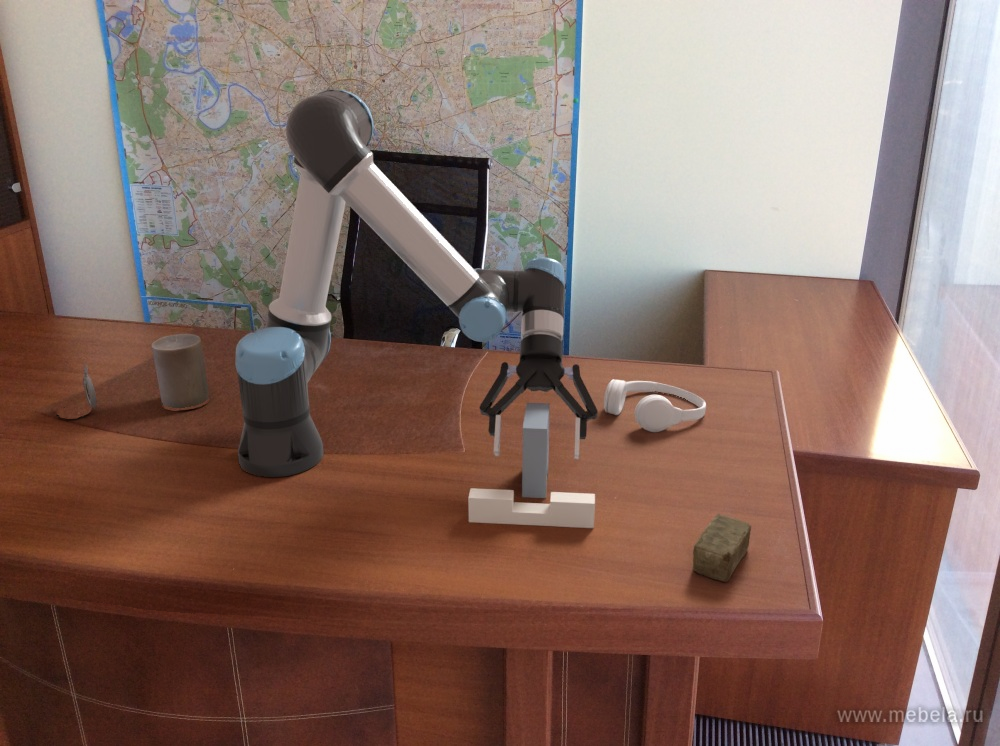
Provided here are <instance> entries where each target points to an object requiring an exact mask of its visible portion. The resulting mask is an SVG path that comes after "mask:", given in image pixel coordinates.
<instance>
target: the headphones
mask: <svg viewBox="0 0 1000 746" xmlns="http://www.w3.org/2000/svg"><path fill="white" fill-rule="evenodd" d="M652 391H653V392H652ZM654 391H658V392H666V393H670V394H674V395H677V396H679V397H678V398H680V397H682V398H681V399H683V398H685V399H686V400H685V399H684V400H685V401H687V400H688V402H690V403H692V404H693V405H695V406H697V407H698V408H693V409H681V408H679V407H676V406H674V405H673V404H672V402H671V401H670V400H669V399H667V398H666V397H665V396H663V395H660V394H650V395H649V394H648V395H646V396H644V397H643V398H641V399H640V400H639V402H637V404H636V406H635V408H634V419H635V421H636V423H637V424H638V425H639V426H640V427H642V428H643V429H644V430H646V431H647V432H651V433H659V432H663V431H665V430H667V429H668V428H670V427H673V426H675V425H678V424H679V423H680V422H688V421H689V422H690V421H697V420H700V419H702V418H703V417H704V416H705V414H706V409H707V403H706V401H705V399H703V398H702V397H700V396H698V395H697V394H695V393H693V392H690V391H688V390H686V389H682V388H679V387H677V386H673V385H670V384H665V383H661V382H656V381H650V380H645V381H644V380H630V381H626V380H623V379H622V380H621V379H614V378H613V379H611V380H610V382H608V384H607V386H606V390H605V391H604V397H603V408H604V412H605V413H608V414H611V415H614V416H619V415H620V413H621V412H622V411H623V408H624V404H625V400H626V397H627V393H631V392H632V393H633V392H646V393H655V392H654ZM658 392H657V393H658ZM677 396H676V397H677Z"/></svg>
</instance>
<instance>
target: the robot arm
mask: <svg viewBox="0 0 1000 746" xmlns="http://www.w3.org/2000/svg"><path fill="white" fill-rule="evenodd" d="M285 125H286V126H285V135H286V141H287V144H288V147H289V149H290V151H291V153H292V155H293V156H294V158H293V165H294V166H295V168H296V170H297V171H298V172H299V173H300V174H299V175H300V176H299V182H298V186H297V192H296V199H295V204H294V210H293V217H292V221H291V222H292V223H291V228H290V234H289V239H288V244H287V251H286V257H285V262H284V267H283V273H282V280H281V285H280V286H281V287H280V291H279V296H278V298H276V299H274V300H273V301H271V302H269V306H268V310H267V311H268V312H267V316H266V323H265V327H264V328H259V329H256V330H255V332H252V331H251V332H249V333H247V334H246V335H244V336H242V338H240V340H239V341H238V343H237V344H236V347H235V359H234V360H235V363H234V364H235V366H234V367H235V369H236V373H237V381H238V382H237V383H238V387H239V394H240V395H239V397H240V402H241V409H242V417H243V428H242V432H241V436H240V441H239V445H238V448H237V449H238V450H237V456H238V463H239V464H240V465H239V467H240V466H241V467H240V468H241V470H243V469H244V470H245V471H247V472H249V473H251V474H250V475H252V474H255V475H254V476H256V475H259V476H258V477H261V476H264V477H263V478H279V477H288V476H292V475H297V474H300V473H303V472H305V471H308V470H310V469H312V468H314V467H316V465H318V464H319V463H320V462H321V460H322V459H323V457H324V445H323V440H322V438H321V435H320V433H319V431H318V429H317V426H316V425H315V423H314V420H313V418H312V416H311V412H310V400H309V399H310V398H309V389H308V383H309V381H310V380H311V378H312V377H313V376H314V374H315V373H316V371H317V369H318V368H319V366H321V364H322V363H323V362H324V361H325V359H326V357H327V356H328V354H329V351H330V348H331V339H332V336H331V335H332V334H331V330H330V328H331V327H330V326H331V321H332V313H331V312H330V310H329V309H328V308H327V307H326V306H327V300H328V294H329V289H330V284H331V281H332V280H331V279H332V276H333V275H332V274H333V270H334V264H335V259H336V254H337V251H338V250H337V248H338V243H339V239H340V234H341V228H342V224H343V218H344V213H345V208H346V204H347V205H348V206H349V207H350V208H351V209H352V210H353V211H354V212H355V213H356V214H357V215H358V216H359V217H360V218H361V220H363V221H364V222H365V223H366V225H368V227H370V229H371V230H373V231H374V232H375V234H377V236H379V237H380V239H381V240H382V241H383V242H384V243H385V244H386V245H387V246H388V247H389V248H390V249H391V250H392V251H393V252H394V253H395V254H396V255H397V256H398V257H399V258H400V259H401V260H402V261H403V262H404V263H405V264H406V265H407V266H408V267H409V269H411V270H412V271H413V272H414V274H416V276H417V277H418V278H419V279H420V280H421V281H422V282H423V283H424V284H425V285H426V286H427V287H428V288H429V289H430V290H431V291H432V292H433V293H434V294H435V295H436V296H437V297H438V298H439V299H440V300H441V301H442V302H443V303H444V304H445V305H446V307H448V308H449V310H450V311H452V312H453V314H454V315H455V316H456V317H458V323H459V327H460V329H461V332H462V333H463V334H464V335H465V336H466V337H467V338H468V339H470V340H473V341H474V342H481V343H482V342H483V343H484V342H489V341H491V340H494V339H496V338H497V337H498V336H499V335H500V334H501V332H502V330H503V328H504V326H505V324H506V322H507V313H511V312H512V313H518V312H519V313H520V312H521V327H520V328H521V331H520V339H521V340H520V344H519V345H520V346H519V348H520V349H519V361H518V364H517V365H512V364H509V363H508V362H507V361H504V362H502V363H501V365H500V371H499V374H498V376H497V377H496V379H495V381H494V382H493V384H492V385H491V387H490V388H489V391H488V392H487V394H486V395H485V397H484V399H483V400H482V401H481V403H480V405H479V412H480V414H481V415H482V416H486V417H489V419H488V433H489V436H490V437H494V439H493V454H494V455H493V456H494V457H500V449H501V448H500V447H501V446H500V445H501V433H502V432H501V431H502V417H501V414H502V413H504V411H506V409H507V408H508V407H509V406H510V405H511V404H512V403H513V402H514V401H516V399H518V397H519V396H520V395H521V394H523V393H524V392H525V391H526V390H529V391H530V392H538V391H541V392H545V393H547V392H549V391H551V390H553V391H554V392H555V394H556V395H557V396H559V398H560V399H561V400H562V402H564V404H565V405H566V406H567V407H568V409H569V410H571V412H572V413H573V414H574V415H575V424H574V425H575V430H574V431H575V432H574V460H580V443H581V442H580V441H581V440H586V438H587V435H588V433H587V428H588V427H587V425H588V422H589V421H590V420H596V419H597V417H598V409H597V406H596V404H595V403H594V401H593V399H592V397H591V395H590V392H589V390H588V389H587V387H586V383H584V380H583V378H582V376H581V371H580V369H581V368H580V365H579V364H578V363H577V364H573V365H572V366H568V367H567V366H565V367H564V365H563V346H564V345H563V338H564V317H565V316H564V314H565V313H564V312H565V311H564V310H565V294H566V291H565V290H566V283H565V280H566V279H565V275H566V274H565V272H566V271H565V268H564V265H563V264H561V262H560V261H558V260H556V259H554V258H551V257H543V256H542V257H539V258H533V259H530V260H528V261H527V262H526V263H525V266H524V269H523V270H507V269H504V270H503V269H483V268H480V267H479V268H478V267H477V268H473V267H472V265H471V264H470V263H468V261H467V260H466V259H465V258H464V257H463V256H462V255H461V254H460V252H459V251H457V250H456V248H455V247H454V246H453V245H451V243H450V242H449V241H448V240H447V239H446V238H445V236H443V235H442V233H440V232H439V231H438V230H437V228H436V227H435V226H434V225H433V224H432V223H431V222H430V221H429V220H428V219H427V218H426V217H425V216H424V215H423V213H421V212H420V210H418V209H417V207H416V206H415V205H414V204H413V203H412V202H411V201H410V200H409V199H408V198H407V197H406V196H405V195H404V193H402V191H401V190H400V189H399V188H398V187H397V185H395V184H394V183H393V182H392V181H391V180H390V179H389V178H388V177H387V176H386V174H384V172H382V171H381V169H380V168H379V167H378V166H377V165H376V164H375V163H374V153H373V152H372V151H371V150H370V149H369V148H368V146H369V145H370V144H371V141H372V138H373V135H374V127H375V126H374V125H375V124H374V119H373V116H372V113H371V110H370V108H369V107H368V105H367V104H366V103H365V101H364V100H363V99H361V98H360V96H358V95H356V94H354V93H353V92H350V91H348V90H344V89H343V90H342V89H336V88H332V89H326V90H322V91H321V92H318V93H317V94H315V95H312V96H311V95H310V96H308V97H306V98H303V99H302V100H301V101H299V102H298V103H296V104H295V106H294V107H293V108H292V109H291V111H290V112H289V115H288V118H287V120H286V124H285ZM514 374H516V375H517V376H518V378H519V379H517V381H516V382H515V383H514V385H513V386H512V387H511V388H510V389H509V390H508V391H507V392H506V393H505V394H503V396H502V397H501V398H500V399H499V400H497V398H498V397H499V395H500V393H501V392H502V391H503V388H504V386H505V385H506V383H507V381H508V379H509V378H512V377H513V375H514ZM564 375H566V376H567V377H568V379H569V380H571V381H572V382H573V385H574V387H575V389H576V391H577V394H578V395H579V398H580V400H581V402H582V403H583V405H584V408H585V409H586V410H585V409H584V408H583V407H582V406H581V404H580V403H579V402H578V401H577V399H576V398H575V397H574V396H573V395H572V394H571V393H570V392H569V391H568V389H567V388H566V387H565V385H564V383H563V382H562V379H563V377H564ZM496 400H497V402H496V403H495V401H496ZM494 403H495V404H494ZM493 404H494V405H493ZM244 470H243V471H244ZM245 471H244V472H245ZM247 472H246V473H247ZM249 473H248V474H249Z"/></svg>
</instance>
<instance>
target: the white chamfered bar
mask: <svg viewBox="0 0 1000 746" xmlns="http://www.w3.org/2000/svg"><path fill="white" fill-rule="evenodd" d="M469 489H470V490H469V494H468V501H467V502H468V503H467V504H468V506H467V507H468V522H469V523H481V524H499V525H501V524H503V525H521V526H522V525H523V526H541V527H543V526H544V527H560V528H561V527H564V528H581V529H583V528H585V529H594V528H595V515H596V513H595V512H596V508H595V507H596V494H595V493H587V492H586V493H581V492H564V491H563V492H561V491H560V492H559V491H550V500H549V503H539V502H538V503H536V502H534V503H533V502H520V501H519V502H517V501H515V499H514V498H515V491H514V490H513V489H498V488H497V489H495V488H475V487H474V488H473V487H471V488H469Z"/></svg>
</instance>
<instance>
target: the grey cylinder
mask: <svg viewBox="0 0 1000 746" xmlns="http://www.w3.org/2000/svg"><path fill="white" fill-rule="evenodd" d="M150 346H151V350H152V354H153V355H152V356H153V360H154V367H155V371H156V377H157V383H158V388H159V389H158V390H159V395H160V400H161V404H162V403H163V405H165V406H168V407H172V408H185V407H191V406H196V405H199V404H201V403H203V402H205V401H206V400H207V399H208V398H209V395H210V393H209V384H208V382H209V381H208V378H207V377H208V376H207V372H206V364H205V359H204V352H203V345H202V339H201V337H200V336H198V335H196V334H194V333H193V334H191V333H178V334H171V335H166V336H162V337H159V338H158V339H156V340H155V341H153V342H152V343H151V345H150ZM163 405H162V406H163Z"/></svg>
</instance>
